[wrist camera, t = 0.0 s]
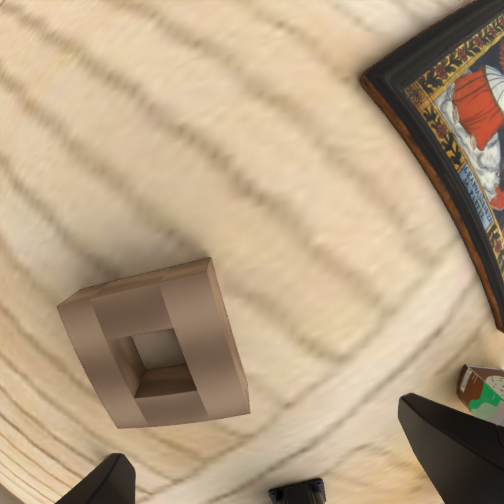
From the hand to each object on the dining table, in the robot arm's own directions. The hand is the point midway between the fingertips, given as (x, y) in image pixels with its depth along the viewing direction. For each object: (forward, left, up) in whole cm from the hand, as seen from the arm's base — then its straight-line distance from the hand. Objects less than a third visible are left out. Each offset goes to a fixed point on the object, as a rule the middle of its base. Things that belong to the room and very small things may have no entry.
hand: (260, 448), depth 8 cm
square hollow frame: (-2, +7, -15) cm, 16 cm away
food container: (-20, -24, -15) cm, 35 cm away
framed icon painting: (+9, -35, -16) cm, 39 cm away
